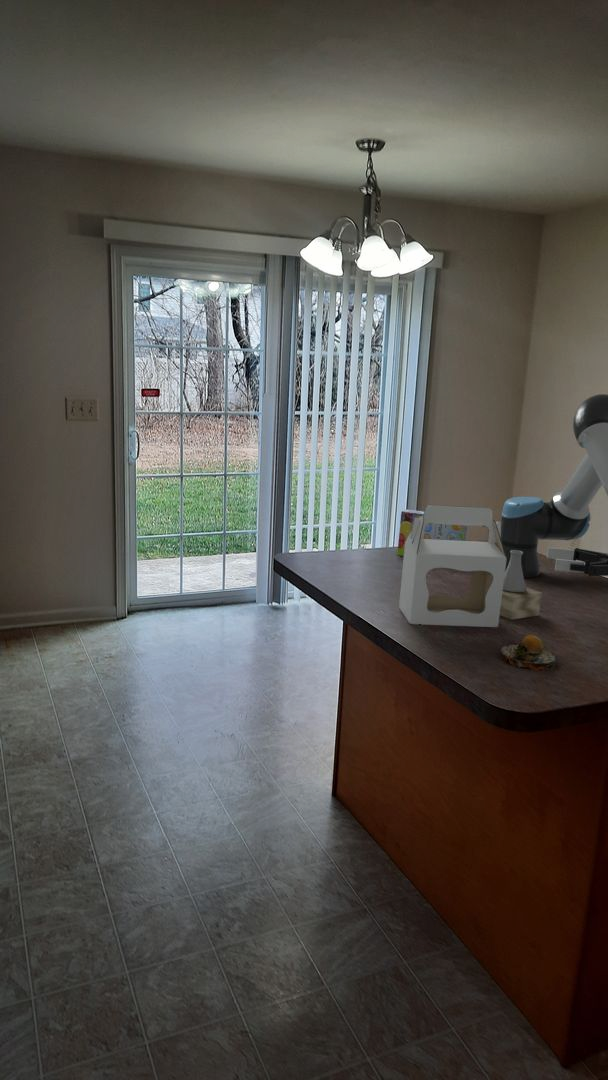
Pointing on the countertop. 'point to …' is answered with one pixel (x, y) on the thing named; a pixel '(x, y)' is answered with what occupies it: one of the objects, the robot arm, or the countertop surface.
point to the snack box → (428, 530)
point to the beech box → (520, 604)
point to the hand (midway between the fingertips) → (551, 558)
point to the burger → (528, 654)
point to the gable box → (459, 556)
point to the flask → (514, 574)
